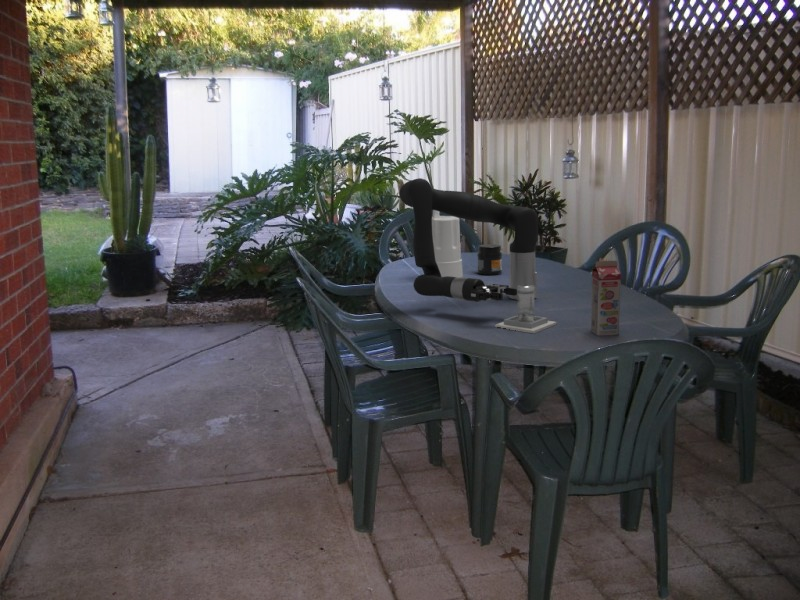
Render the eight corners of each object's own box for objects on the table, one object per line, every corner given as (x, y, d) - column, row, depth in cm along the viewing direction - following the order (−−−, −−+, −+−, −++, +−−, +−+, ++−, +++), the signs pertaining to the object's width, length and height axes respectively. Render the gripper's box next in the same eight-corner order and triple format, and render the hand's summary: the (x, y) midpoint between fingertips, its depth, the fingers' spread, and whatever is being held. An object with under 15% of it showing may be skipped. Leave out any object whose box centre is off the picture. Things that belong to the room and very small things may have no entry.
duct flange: (518, 318, 272) (518, 311, 272) (556, 324, 263) (556, 317, 263) (495, 327, 262) (495, 320, 261) (533, 333, 253) (533, 326, 252)
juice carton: (590, 330, 255) (592, 259, 250) (611, 329, 255) (614, 258, 251) (597, 335, 249) (599, 263, 244) (618, 334, 249) (621, 262, 244)
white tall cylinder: (442, 274, 356) (441, 195, 349) (470, 277, 346) (470, 197, 339) (419, 279, 345) (417, 198, 338) (447, 283, 335) (446, 200, 328)
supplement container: (507, 273, 353) (507, 246, 350) (486, 276, 348) (486, 248, 345) (492, 270, 362) (492, 243, 359) (472, 273, 356) (472, 245, 354)
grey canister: (529, 320, 266) (529, 283, 263) (537, 324, 261) (537, 286, 258) (514, 322, 264) (514, 285, 262) (521, 326, 259) (522, 288, 256)
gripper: (454, 281, 268) (497, 286, 258) (479, 274, 279) (521, 279, 269) (455, 304, 270) (497, 310, 260) (479, 296, 281) (521, 302, 271)
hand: (509, 294), depth 264 cm, fingers open, 8 cm apart
